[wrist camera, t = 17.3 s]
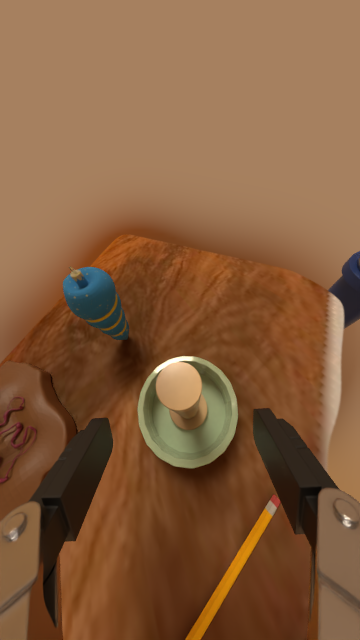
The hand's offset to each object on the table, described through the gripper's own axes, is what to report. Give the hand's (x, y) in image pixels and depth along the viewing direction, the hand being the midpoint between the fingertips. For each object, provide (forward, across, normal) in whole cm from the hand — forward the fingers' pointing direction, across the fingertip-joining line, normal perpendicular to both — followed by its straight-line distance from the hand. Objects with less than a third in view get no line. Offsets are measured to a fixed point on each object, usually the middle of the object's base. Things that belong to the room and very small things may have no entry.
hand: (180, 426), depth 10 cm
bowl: (+11, 0, +8) cm, 14 cm away
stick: (+11, 0, +8) cm, 13 cm away
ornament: (+19, +9, +1) cm, 21 cm away
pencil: (0, -1, +19) cm, 19 cm away
